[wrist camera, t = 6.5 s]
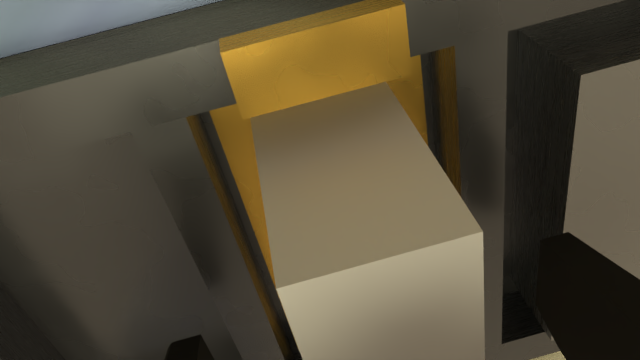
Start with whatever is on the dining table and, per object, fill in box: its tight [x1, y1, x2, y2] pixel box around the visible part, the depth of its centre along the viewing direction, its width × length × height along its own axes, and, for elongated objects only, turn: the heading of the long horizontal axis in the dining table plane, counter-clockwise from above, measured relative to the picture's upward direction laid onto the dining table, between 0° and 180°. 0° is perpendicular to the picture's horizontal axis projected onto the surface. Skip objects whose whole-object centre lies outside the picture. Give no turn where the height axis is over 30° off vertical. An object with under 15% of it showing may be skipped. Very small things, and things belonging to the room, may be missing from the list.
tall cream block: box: [250, 82, 485, 360], centre depth 12 cm, size 8×3×5 cm, turn 12°
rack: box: [0, 0, 640, 360], centre depth 13 cm, size 12×19×3 cm, turn 101°
